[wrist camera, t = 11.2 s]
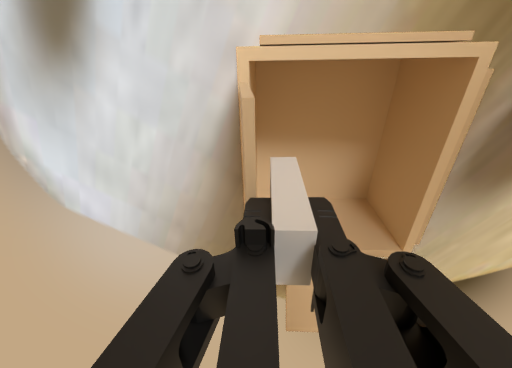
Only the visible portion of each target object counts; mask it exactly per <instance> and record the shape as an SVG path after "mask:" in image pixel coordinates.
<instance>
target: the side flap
mask: <svg viewBox="0 0 512 368" xmlns="http://www.w3.org/2000/svg"><path fill="white" fill-rule="evenodd" d="M239 90H240V112H241V133H242V154H243V176H244V197H245V203H246V202H247V201H248V200H249V199H250V198H256V148H255V97H254V95H253V93H252V91H251V89H250V87H249V85H248V83H247V82H239Z"/></svg>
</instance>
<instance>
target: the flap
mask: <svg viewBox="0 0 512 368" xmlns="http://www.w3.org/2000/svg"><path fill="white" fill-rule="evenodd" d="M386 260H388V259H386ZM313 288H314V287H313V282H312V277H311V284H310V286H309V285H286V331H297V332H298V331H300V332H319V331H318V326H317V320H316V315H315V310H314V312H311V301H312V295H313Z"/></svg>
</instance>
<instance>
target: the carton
mask: <svg viewBox="0 0 512 368" xmlns="http://www.w3.org/2000/svg"><path fill="white" fill-rule="evenodd" d="M474 32H475V30H473V31H429V32H384V33H340V34H296V35H260V46H249V47H236V57H237V77H238V97H239V118H240V138H241V158H242V178H243V199H244V210H245V197H244V176H243V154H242V133H241V112H240V90H239V82H247V83H248V85H249V87H250V89H251V91H252V93H253V95H254V97H255V148H256V198H270V157H296V159H297V162H298V165H299V169H300V172H301V176H302V179H303V182H304V186H305V189H306V193H307V196H308V197H325V198H326V199H327V200H328V201H329V202H330V203H331V204H332V206H333V208H334V212H335V213H336V215H337V217H338V219H339V222H340V224H341V226H342V228H343V231H344V233H345V235H346V237H347V239H349V240H351V241H352V242H353V243H355V244H356V245H357V246H358V248H359V249H360V251H361V252H362V253H364V254H367V255H370V256H378V257H389V256H390V254H392V253H394V252H397V251H405V252H410V253H411V251H412V248H413V246H414V244H419V243H420V241H421V238H422V236H423V234H424V232H425V229H426V227H427V225H428V222H429V220H430V218H431V215H432V213H433V211H434V208H435V206H436V204H437V201H438V199H439V197H440V195H441V192H442V190H443V188H444V185H445V183H446V181H447V178H448V176H449V174H450V171H451V169H452V167H453V164H454V162H455V160H456V158H457V155H458V153H459V151H460V148H461V146H462V144H463V141H464V139H465V137H466V134H467V132H468V130H469V127H470V125H471V123H472V121H473V118H474V116H475V114H476V111H477V109H478V107H479V104H480V102H481V100H482V97H483V95H484V93H485V90H486V88H487V86H488V83H489V81H490V79H491V77H492V74H493V72H494V70H495V69H488V67H489V65H490V62H491V60H492V58H493V55H494V53H495V50H496V48H497V46H498V43H499V41H494V42H457V41H468V40H472V38H473V35H474Z"/></svg>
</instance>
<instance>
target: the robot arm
mask: <svg viewBox="0 0 512 368" xmlns="http://www.w3.org/2000/svg"><path fill="white" fill-rule="evenodd" d="M234 232H235V243H236V247H235V248H234V249H233V250H231V251H229V252H227V253H224V254H221V255H217V256H213V257H212V255H211V254H210V253H209V252H207V251H205V250H202V249H193V250H189V251H186V252H184V253H182V254H180V255H179V256H178V257H177V258H176V259H175V260H174V261H173V263H172V264H171V265H170V266H169V268H168V269H167V270H166V272H165V273H164V274H163V276H162V277H161V278H160V279H159V281H158V282H157V283H156V285H155V286H154V287H153V288H152V290H151V291H150V292H149V293H148V295H147V296H146V297H145V299H144V300H143V301H142V303H141V304H140V305H139V307H138V308H137V309H136V310H135V312H134V313H133V314H132V316H131V317H130V318H129V319H128V321H127V322H126V323H125V325H124V326H123V327H122V328H121V330H120V331H119V332H118V333H117V335H116V336H115V337H114V339H113V340H112V341H111V343H110V344H109V345H108V346H107V348H106V349H105V350H104V352H103V353H102V354H101V355H100V357H99V358H98V359H97V361H96V362H95V363H94V364H93V366H92V367H91V368H199V366H200V363H201V361H202V358H203V356H204V354H205V352H206V349H207V347H208V344H209V342H210V340H211V338H212V335H213V333H214V331H215V328H216V326H217V324H218V321H219V319H220V317H222V316H225V319H224V325H223V331H222V338H221V343H220V350H219V356H218V362H217V368H279V349H278V348H279V347H278V324H277V323H278V322H277V298H276V285H309V286H310V284H311V277H312V282H313V287H314V288H313V295H312V301H311V312H314V310H315V315H316V320H317V326H318V331H319V336H320V342H321V347H322V352H323V358H324V363H325V368H512V336H511V335H510V334H509V333H508V332H507V331H506V330H505V329H504V328H502V327H501V326H500V325H499V324H498V323H497V322H496V321H494V320H493V319H492V318H491V317H490V316H489V315H488V314H487V313H486V312H484V311H483V310H482V309H481V308H480V307H479V306H478V305H477V304H476V303H475V302H473V301H472V300H471V299H470V298H469V297H468V296H467V295H466V294H465V293H463V292H462V291H461V290H460V289H459V288H458V287H456V285H454V284H453V283H452V282H451V281H450V280H449V279H448V278H447V277H446V276H444V275H443V274H442V273H441V272H440V271H439V270H438V269H437V268H436V267H434V266H433V265H432V264H431V263H430V262H428V261H427V260H425V259H424V258H423V257H420V256H418V255H416V254H414V253H410V252H405V251H397V252H394V253H392V254H390V256H389V258H388V260H386V259H382V258H378V257H374V256H370V255H367V254H364V253H362V252H361V251H360V249H359V248H358V246H357V245H356V244H355V243H353V242H352V241H351V240H349V239H347V237H346V235H345V233H344V231H343V228H342V226H341V224H340V222H339V219H338V217H337V215H336V213H335V212H334V208H333V206H332V204H331V203H330V202H329V201H328V200H327V199H326V198H325V197H308V196H307V193H306V189H305V186H304V182H303V179H302V176H301V172H300V169H299V165H298V162H297V159H296V157H270V198H250V199H249V200H248V201H247V202H246V203H245V210H244V217H243V220H241V221H240V222H239V223H238V224H237V225H236V227H235V229H234Z"/></svg>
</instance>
